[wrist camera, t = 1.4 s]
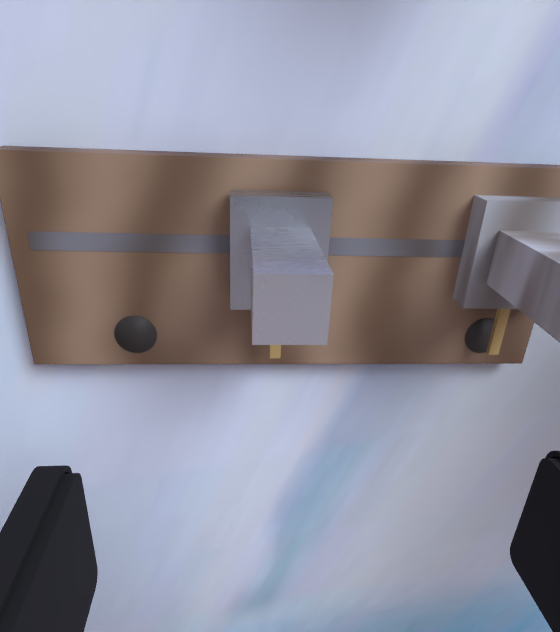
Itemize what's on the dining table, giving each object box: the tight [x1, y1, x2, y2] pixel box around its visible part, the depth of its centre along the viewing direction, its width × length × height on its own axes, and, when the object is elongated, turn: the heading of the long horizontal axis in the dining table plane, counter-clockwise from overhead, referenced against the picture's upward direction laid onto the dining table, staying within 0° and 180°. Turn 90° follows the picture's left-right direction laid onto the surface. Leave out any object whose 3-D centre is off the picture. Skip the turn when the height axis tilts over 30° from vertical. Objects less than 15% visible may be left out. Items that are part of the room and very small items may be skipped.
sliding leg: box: [230, 189, 334, 358], centre depth 23 cm, size 5×9×8 cm, turn 178°
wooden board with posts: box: [0, 146, 560, 364], centre depth 24 cm, size 30×12×10 cm, turn 88°
